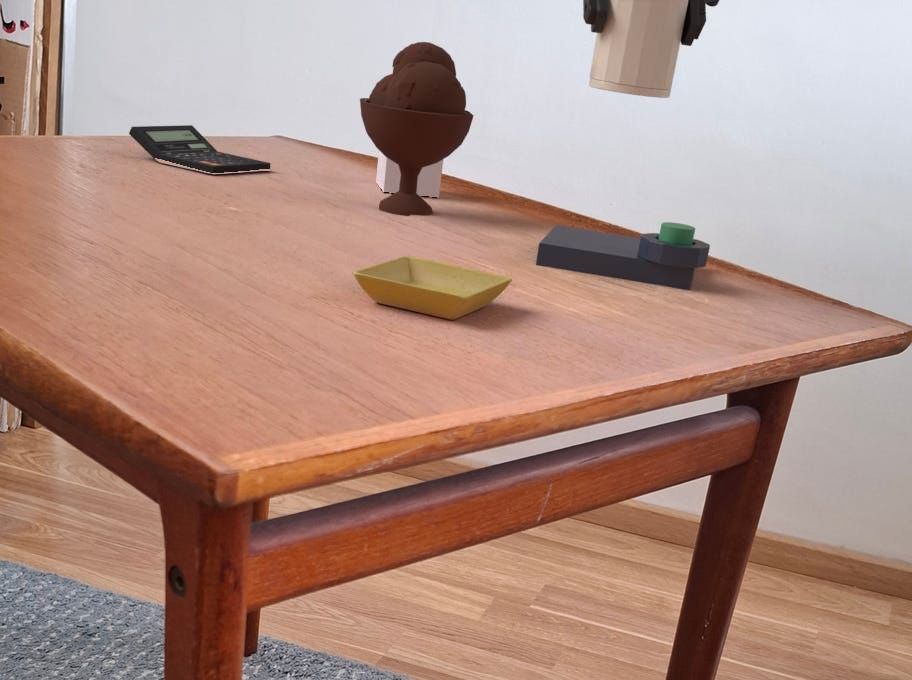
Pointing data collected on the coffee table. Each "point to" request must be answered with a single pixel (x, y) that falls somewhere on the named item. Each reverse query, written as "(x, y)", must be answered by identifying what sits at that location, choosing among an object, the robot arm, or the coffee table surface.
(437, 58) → the ice cream bowl
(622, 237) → the scale
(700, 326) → the coffee table surface
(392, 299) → the yellow shallow tray
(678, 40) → the faceted pencil cup
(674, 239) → the button
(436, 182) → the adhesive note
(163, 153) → the calculator
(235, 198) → the coffee table surface
